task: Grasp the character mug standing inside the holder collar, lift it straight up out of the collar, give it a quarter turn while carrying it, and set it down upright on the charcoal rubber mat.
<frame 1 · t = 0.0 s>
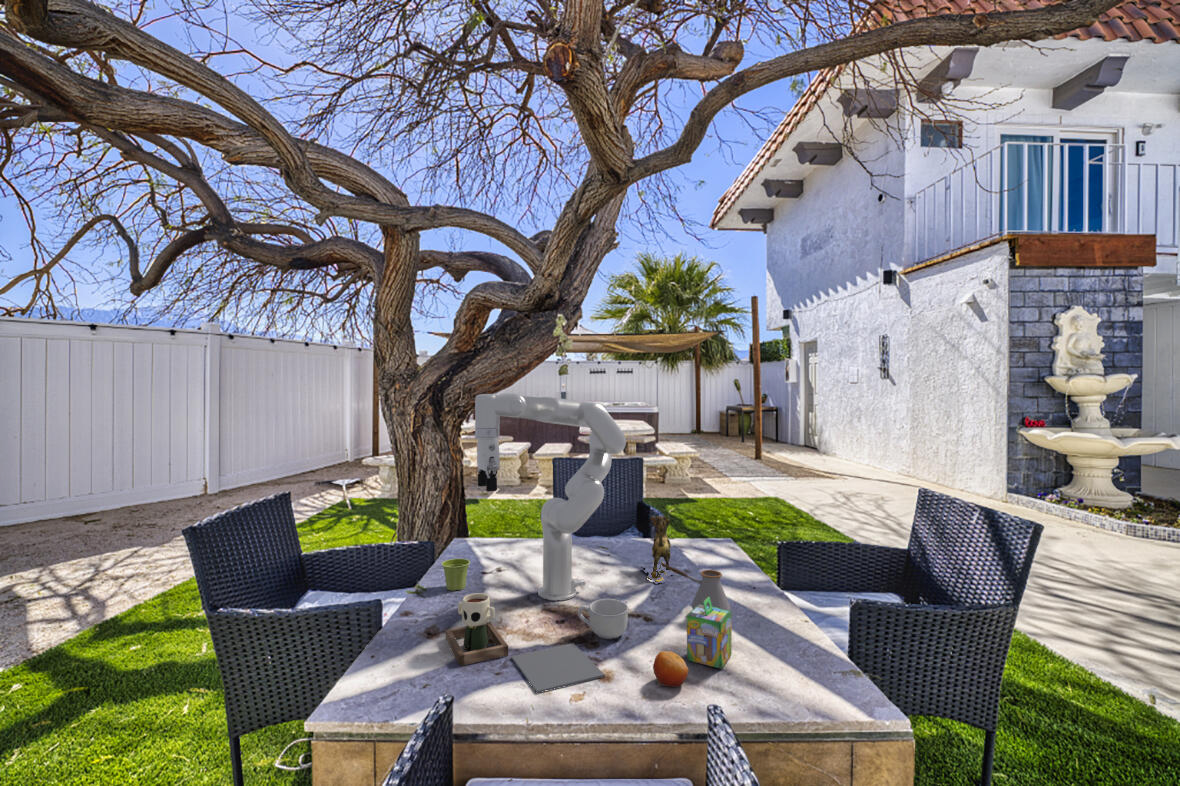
hand: (487, 488, 175), 37 cm above the table, tool pointing down, fingers open, 9 cm apart
holder collar: (475, 647, 147), on the table
rubber mat: (556, 667, 137), on the table
teacup: (603, 634, 156), on the table
coffee pot: (694, 615, 169), on the table
chalk box: (709, 658, 142), on the table
fruit: (670, 684, 130), on the table
character mug: (475, 647, 147), resting in holder collar
figurine: (657, 573, 208), on the table
plant pot: (455, 588, 191), on the table
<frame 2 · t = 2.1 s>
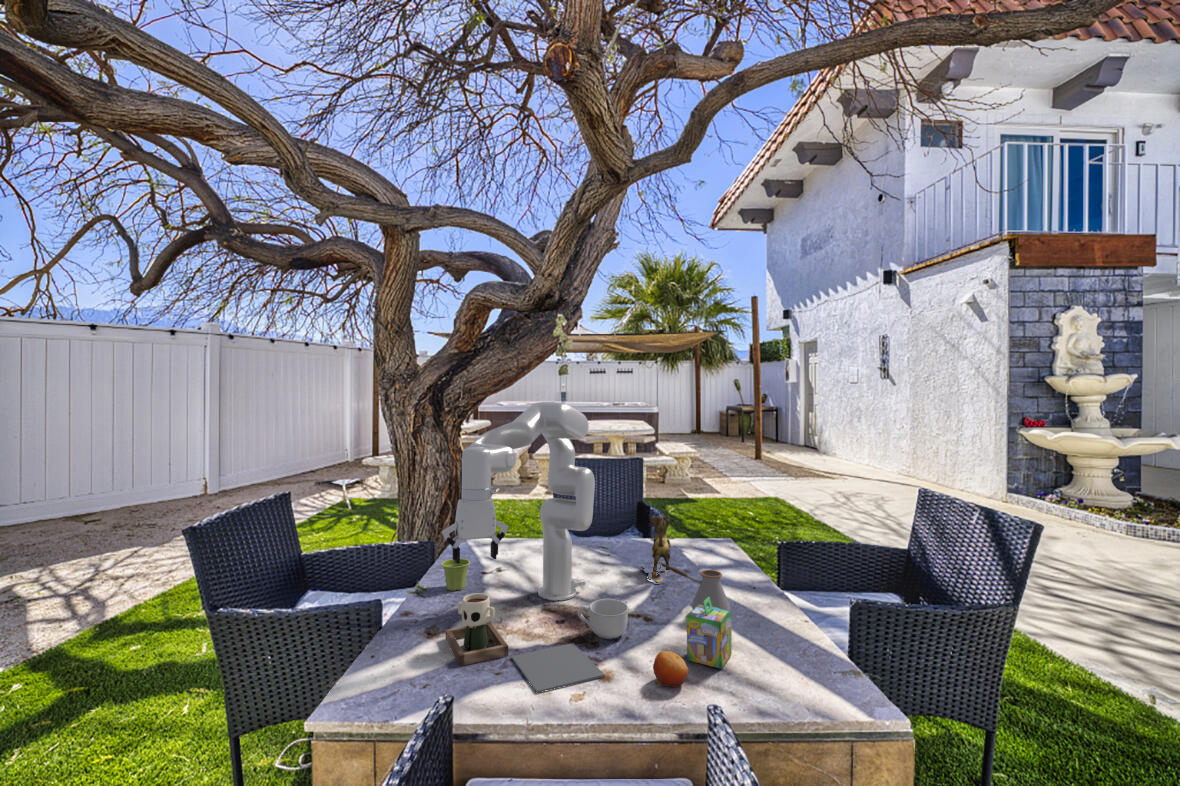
hand: (475, 560, 147), 23 cm above the table, tool pointing down, fingers open, 9 cm apart
nothing on the table moved.
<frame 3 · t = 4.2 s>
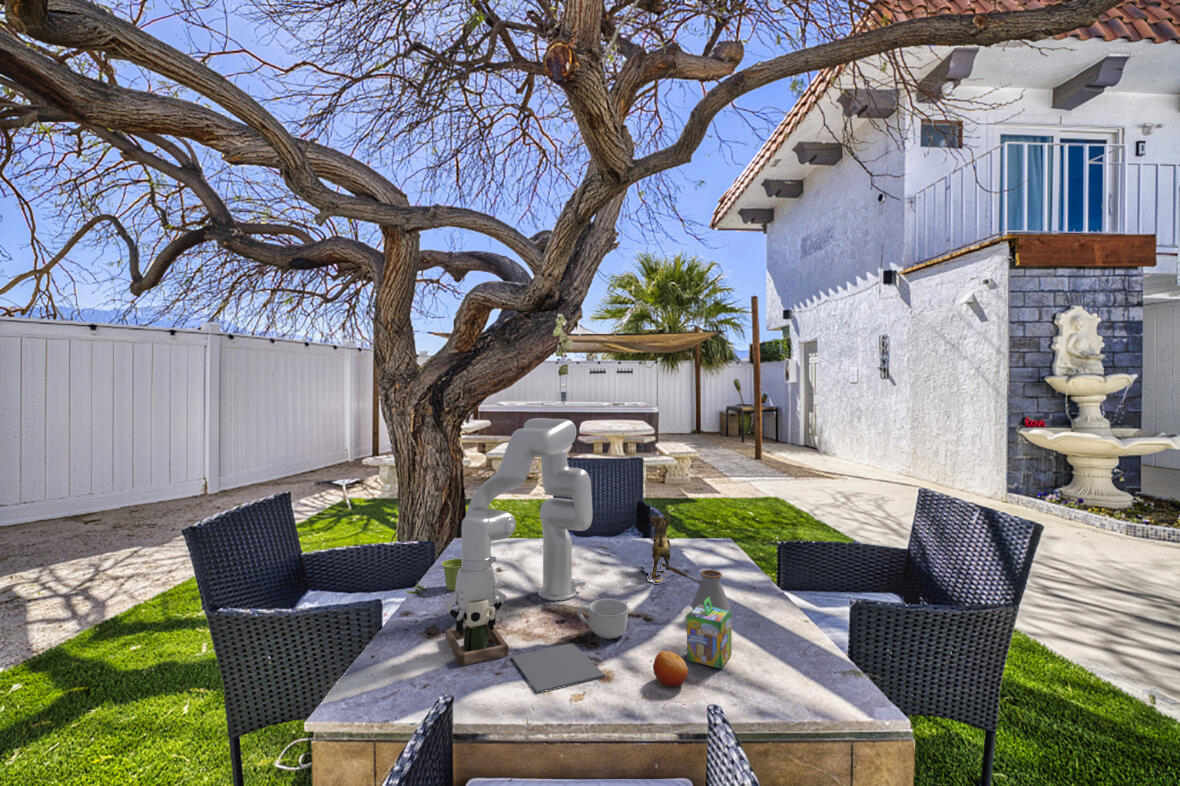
hand: (475, 630, 147), 4 cm above the table, tool pointing down, fingers closed on character mug, 7 cm apart
character mug: (475, 647, 147), resting in holder collar, touching gripper
everything else where it was.
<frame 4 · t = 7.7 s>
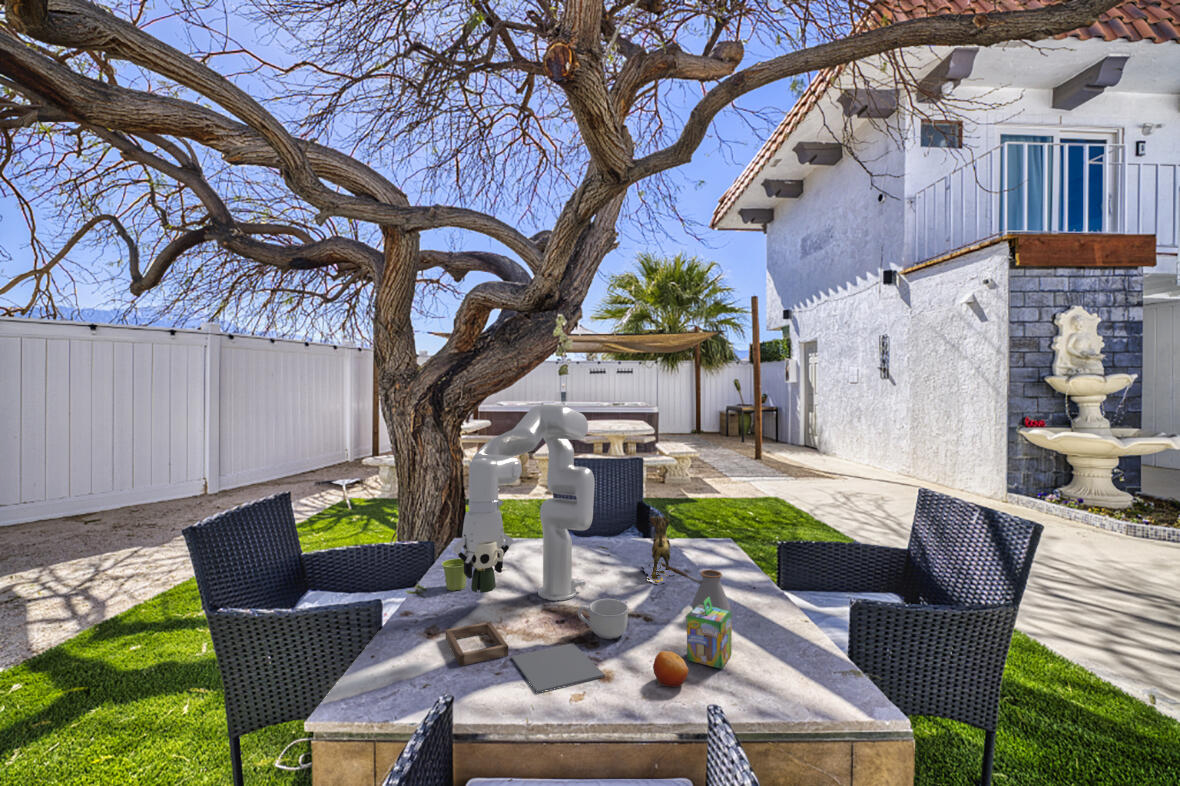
hand: (483, 573, 146), 20 cm above the table, tool pointing down, fingers closed on character mug, 7 cm apart
character mug: (483, 591, 146), point 15 cm above the table, touching gripper
everything else where it was.
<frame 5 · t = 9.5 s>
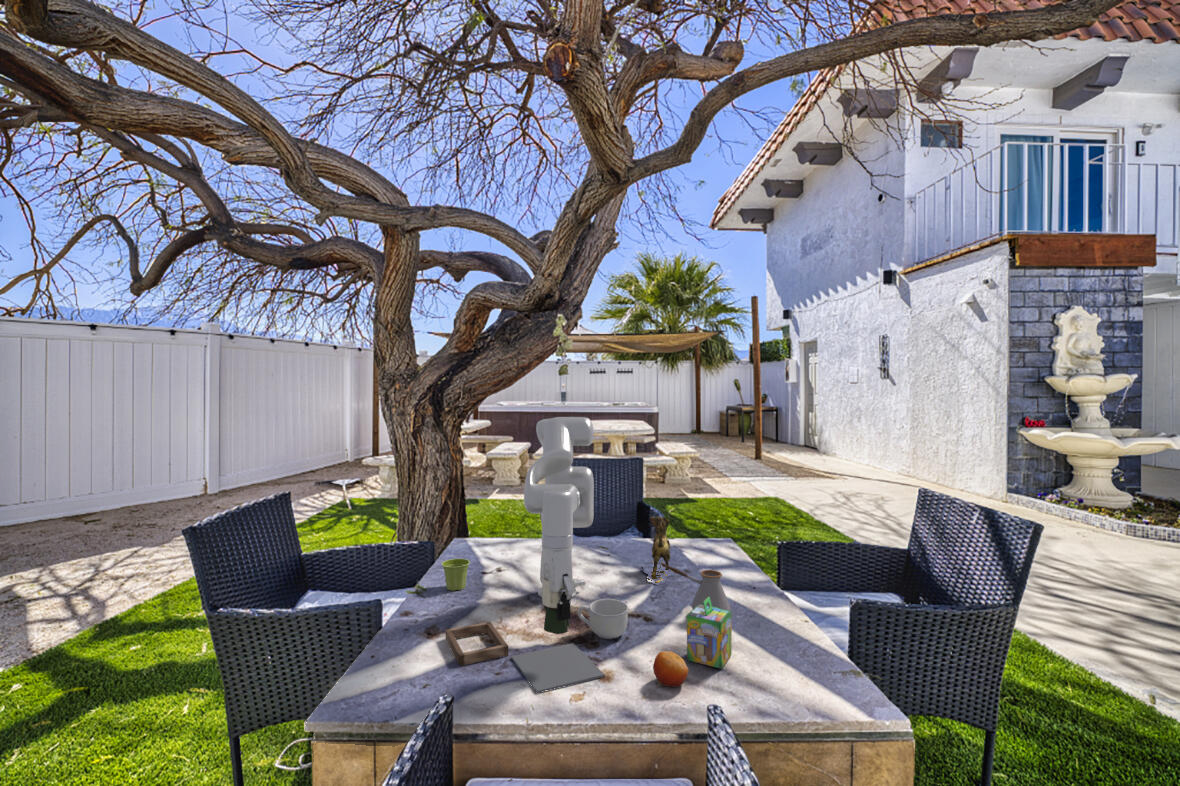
hand: (556, 613, 136), 13 cm above the table, tool pointing down, fingers closed on character mug, 7 cm apart
character mug: (556, 632, 136), point 9 cm above the table, touching gripper
everything else where it was.
when the fingers open (6 cm above the table, at t = 11.2 s): character mug drops 1 cm, resting on rubber mat.
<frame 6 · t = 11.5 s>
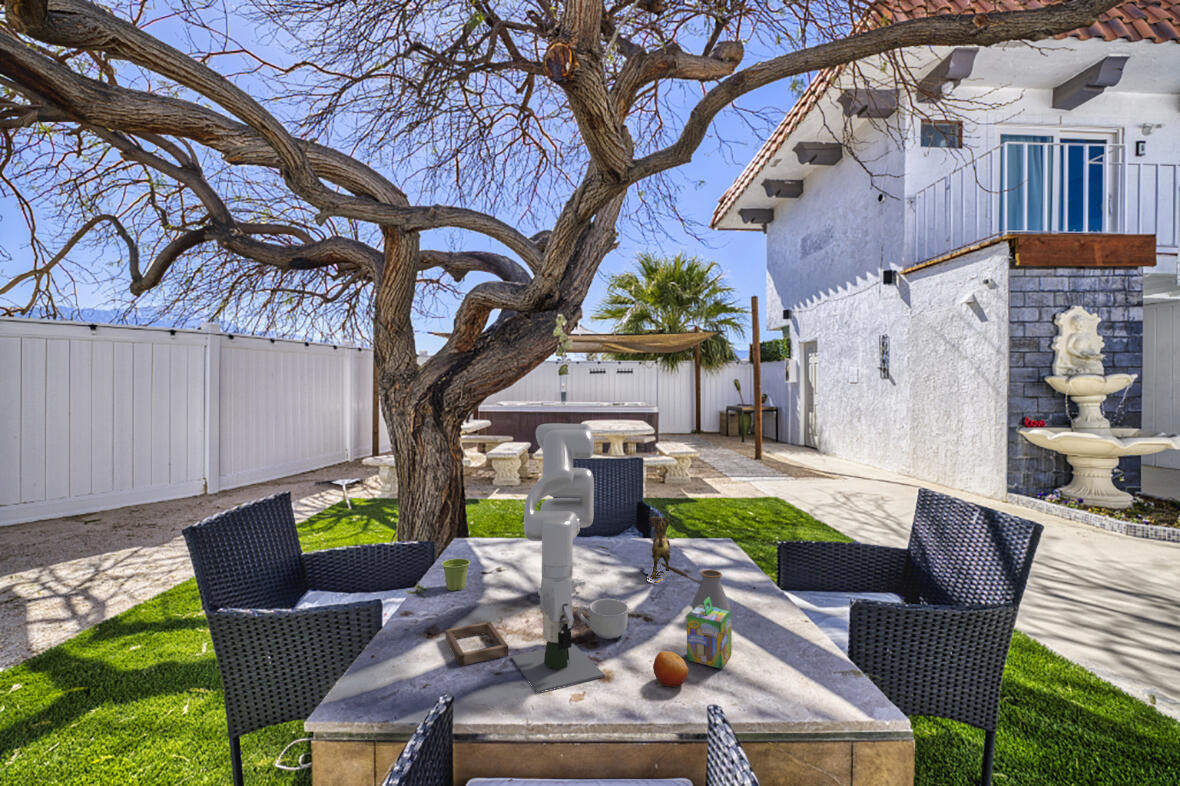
hand: (556, 639, 137), 7 cm above the table, tool pointing down, fingers open, 9 cm apart
character mug: (556, 665, 137), resting on rubber mat
everything else where it was.
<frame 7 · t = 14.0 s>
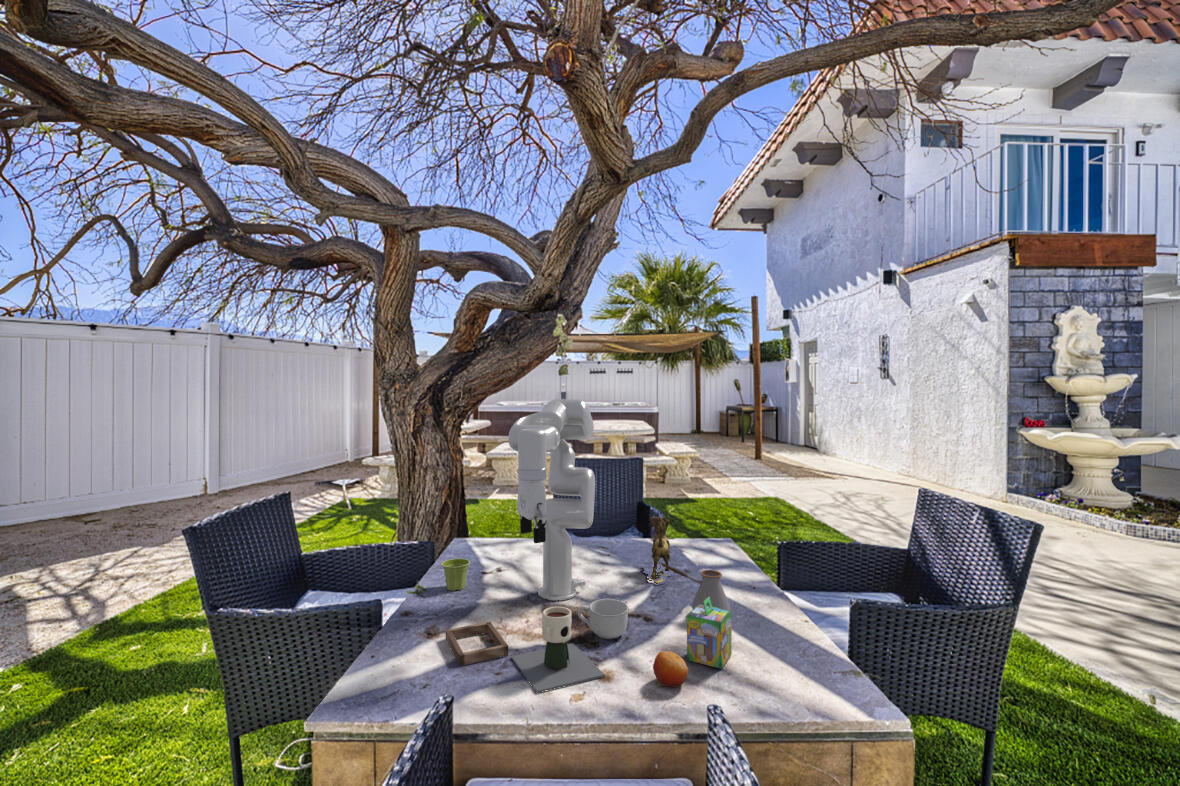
hand: (532, 537, 151), 28 cm above the table, tool pointing down, fingers open, 9 cm apart
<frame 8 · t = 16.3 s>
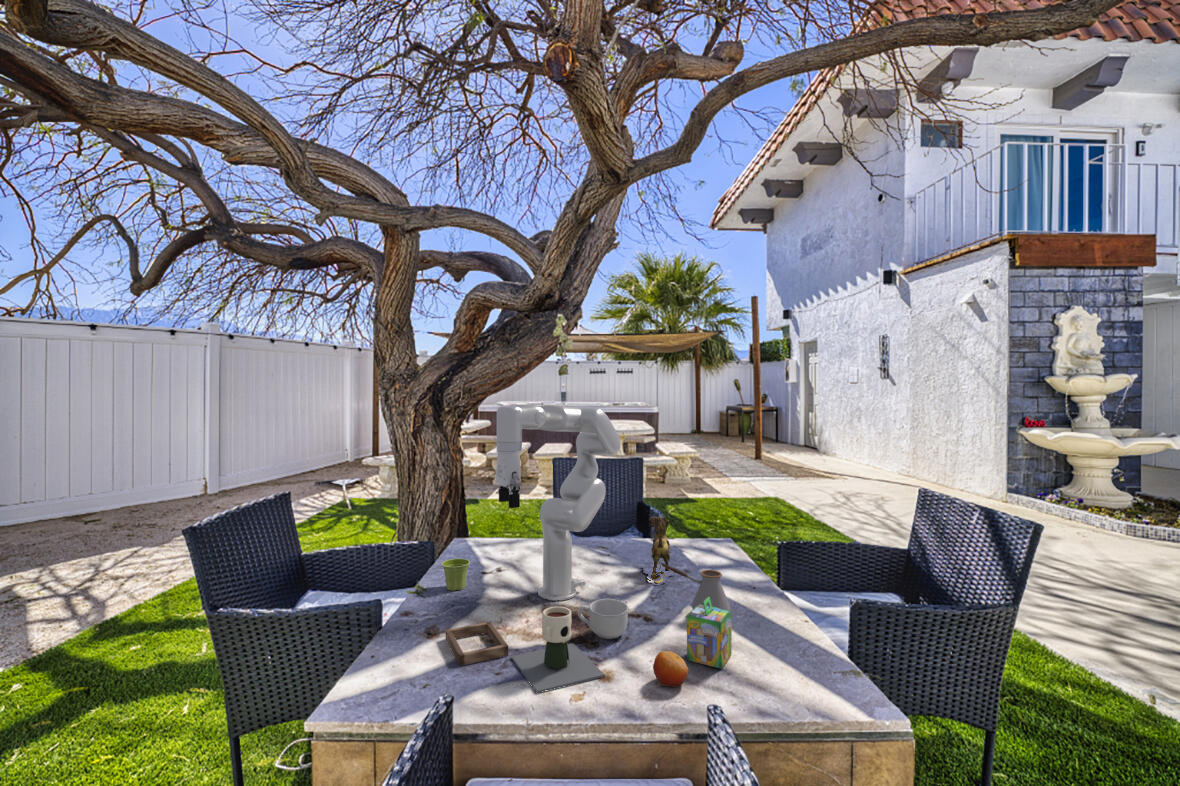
hand: (508, 504, 167), 33 cm above the table, tool pointing down, fingers open, 9 cm apart
at the end: character mug inside the target area on the rubber mat (0.0 cm from its centre), point 0.4 cm above the rubber mat's base; character mug tilted 0°; the gripper is holding nothing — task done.
